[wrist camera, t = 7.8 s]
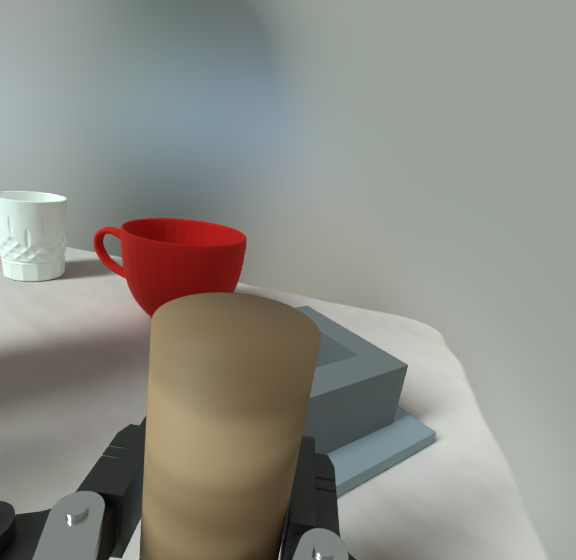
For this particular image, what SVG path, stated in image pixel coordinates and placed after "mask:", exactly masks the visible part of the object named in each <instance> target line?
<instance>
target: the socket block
mask: <svg viewBox="0 0 576 560" xmlns="http://www.w3.org/2000/svg"><path fill="white" fill-rule="evenodd" d="M295 309H297V310H299V311H301V312H302V313H304V314H305V315H307V316H308V317H309V318H311V319H312V320H313V321H314V322H315V324H316V325H317V326H318V328H319V330H320V333H321V343H320V348H319V353H318V358H317V363H316V368H315V373H314V378H313V384H312V389H311V394H310V399H309V404H308V409H307V414H306V419H305V424H304V429H303V435H304V436H310V437H315V453H319V454H325V455H328V456H329V458H330V460H331V461H332V463H333V465H334V467H335V479H336V480H335V482H336V493H337V497H339V496H340V495H342V494H344V493H346V492H347V491H349V490H351V489H353V488H354V487H356V486H358V485H360V484H361V483H363V482H365V481H367V480H368V479H370V478H372V477H374V476H376V475H377V474H379V473H381V472H383V471H384V470H386V469H388V468H390V467H391V466H393V465H395V464H397V463H398V462H400V461H402V460H404V459H405V458H407V457H409V456H411V455H413V454H414V453H416V452H418V451H420V450H421V449H423V448H425V447H427V446H428V445H430V444H432V443H433V439H434V436H435V433H436V432H434V431H433V430H432V429H430V428H429V427H427V426H426V425H424V424H423V423H422V422H420V421H419V420H417V419H416V418H414V417H413V416H412V415H410V414H409V413H407V412H406V411H404V410H403V409H402V408H400V407H399V406H398V402H399V398H400V394H401V390H402V386H403V383H404V379H405V375H406V371H407V367H408V365H407V364H405V363H404V362H402V361H400V360H398V359H397V358H395V357H393V356H392V355H390V354H388V353H387V352H385V351H383V350H381V349H380V348H378V347H376V346H375V345H373V344H371V343H370V342H368V341H366V340H364V339H363V338H361V337H359V336H358V335H356V334H354V333H353V332H351V331H349V330H348V329H346V328H344V327H342V326H341V325H339V324H337V323H336V322H334V321H332V320H331V319H329V318H327V317H325V316H324V315H322V314H320V313H319V312H317V311H315V310H314V309H312V308H310V307H308V306H303V307H297V308H295Z"/></svg>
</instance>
